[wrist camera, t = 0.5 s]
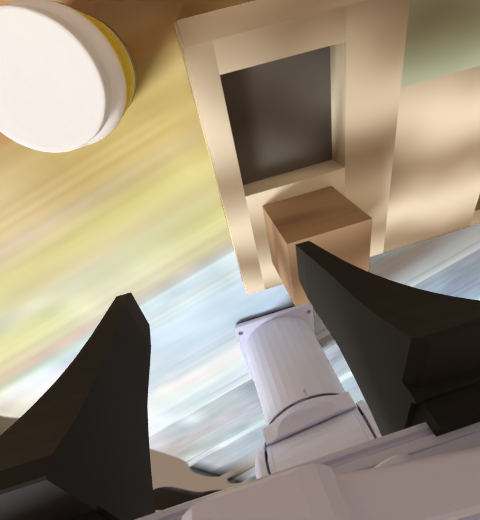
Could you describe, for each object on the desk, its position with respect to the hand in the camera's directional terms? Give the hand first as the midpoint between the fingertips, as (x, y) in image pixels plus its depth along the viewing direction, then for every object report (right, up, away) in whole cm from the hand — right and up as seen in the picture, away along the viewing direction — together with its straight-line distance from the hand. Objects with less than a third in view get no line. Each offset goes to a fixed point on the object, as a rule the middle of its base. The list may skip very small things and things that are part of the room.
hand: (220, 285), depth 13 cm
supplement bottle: (-7, +11, +3) cm, 14 cm away
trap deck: (+12, +10, +9) cm, 18 cm away
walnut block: (+5, +4, +9) cm, 11 cm away
